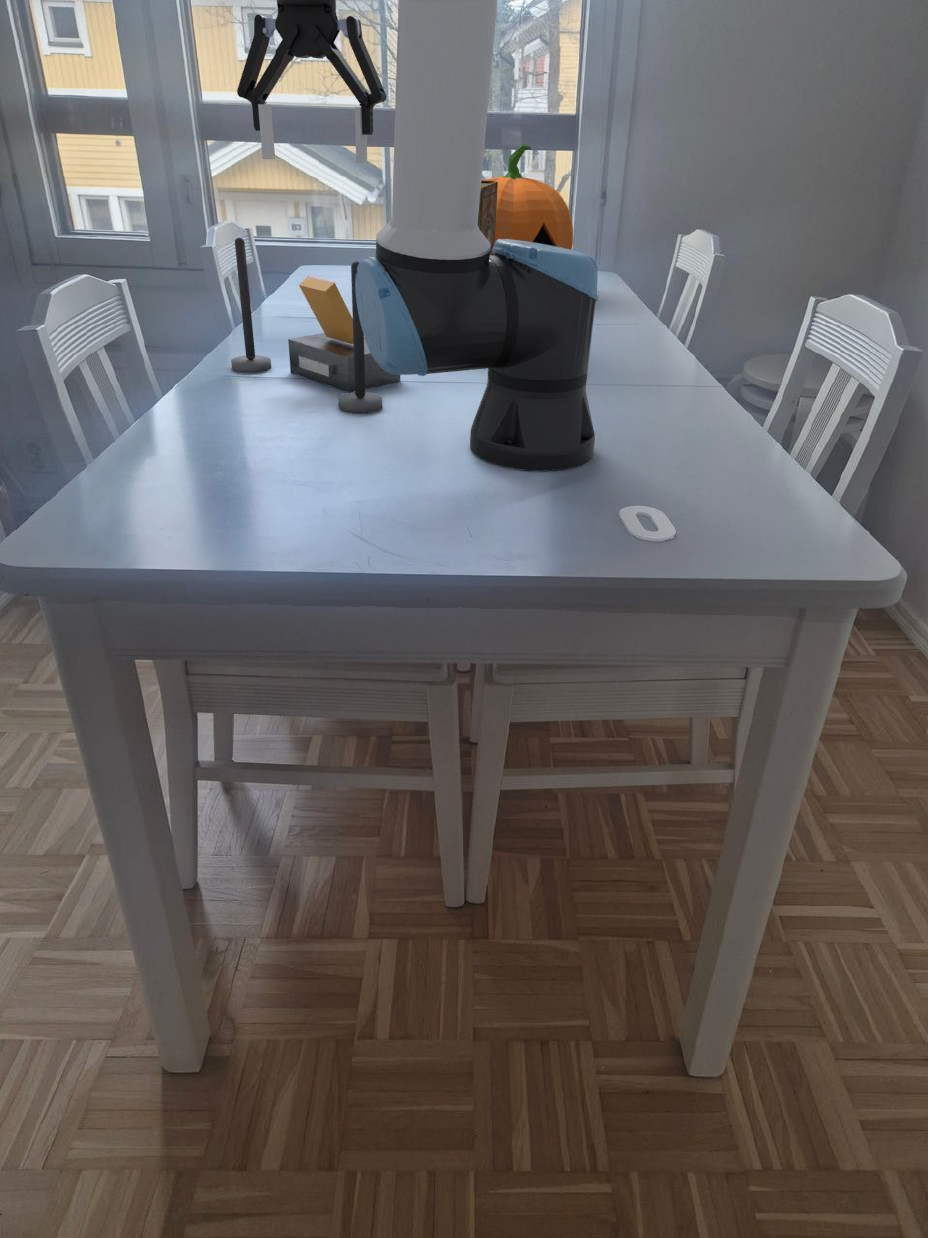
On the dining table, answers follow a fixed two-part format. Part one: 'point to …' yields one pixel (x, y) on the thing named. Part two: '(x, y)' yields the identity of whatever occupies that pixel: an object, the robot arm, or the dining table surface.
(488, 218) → the book
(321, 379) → the block
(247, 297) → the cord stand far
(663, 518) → the chain link
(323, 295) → the orange rectangular prism
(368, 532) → the dining table surface
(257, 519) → the dining table surface
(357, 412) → the stand
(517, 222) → the jack-o'-lantern
